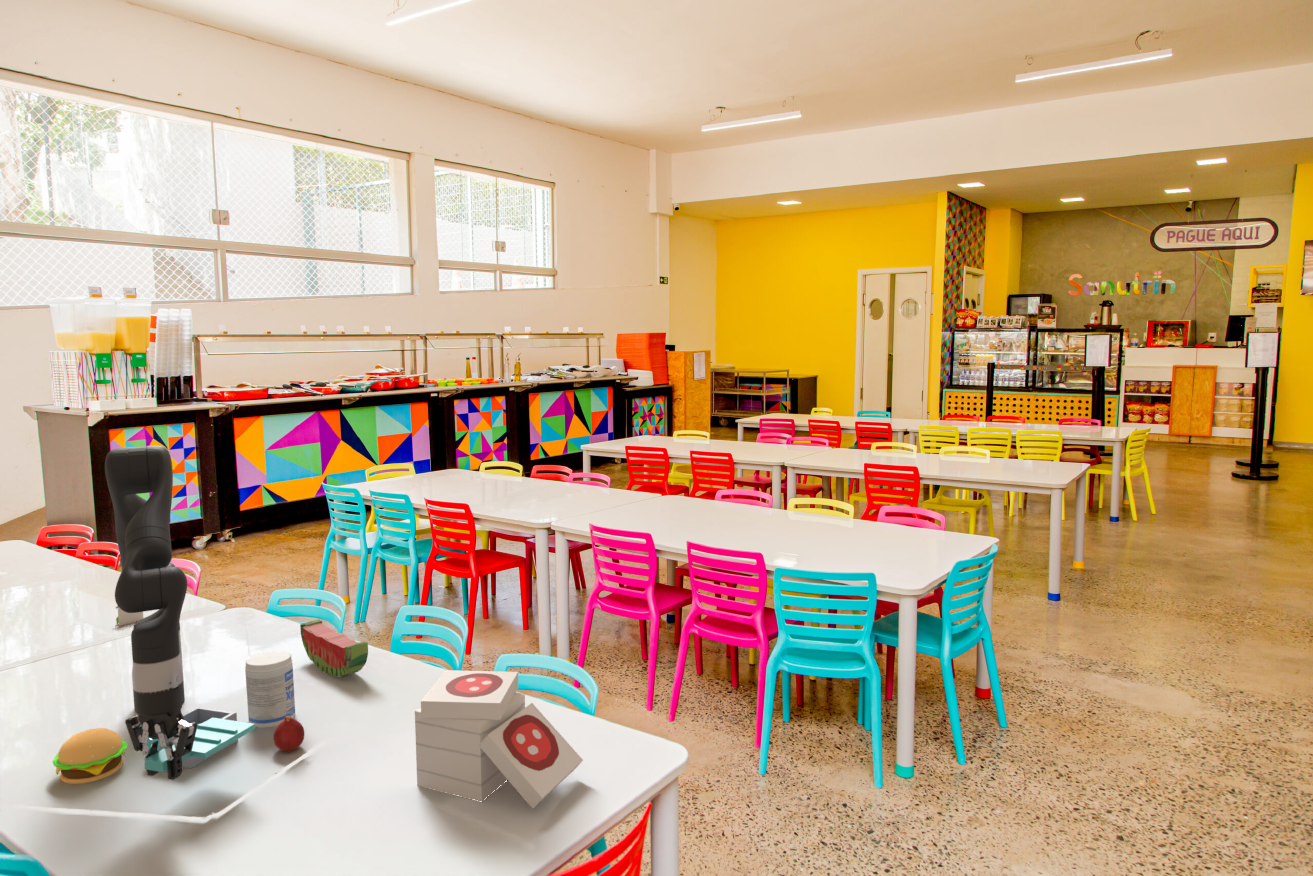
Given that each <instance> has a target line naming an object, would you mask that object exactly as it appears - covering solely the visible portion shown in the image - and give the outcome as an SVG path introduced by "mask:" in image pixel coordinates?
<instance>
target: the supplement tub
mask: <svg viewBox="0 0 1313 876" xmlns="http://www.w3.org/2000/svg"><path fill="white" fill-rule="evenodd" d="M244 667H245V668H244V669H245V685H246V700H247V701H246V702H247V715H248V716H247V717H248V723H252V724H255V728H263V729H264V728H273V727H277V726H278V725H279V724H280V723H281V722H282V721H284V720H285V719H284V718H285V717H286V716H290V717H291V718H293V719H295V718H294V717H295V716H296V704H295V703H296V701H295V685H294V684H295V683H294V682H295V681H294V666H293V659H292V654H291V652H289V651H286V650H269V651H263V652H260V653H257V654H256V653H255V654H253V655H251V656H250V657H248V658H247V659H245V666H244Z"/></svg>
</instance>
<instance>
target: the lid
mask: <svg viewBox="0 0 1313 876" xmlns="http://www.w3.org/2000/svg"><path fill="white" fill-rule="evenodd" d="M255 729H256V727H255V724H252V723H249V722H244V721H238V720H237V721H233V720H226V719H219V718H211V719H209V720H207V721H205V722H203V723H202V724H198V725H197V730H196V734H195V739H194V743H193V747H192V751H191V752H189V753H187V754H186V755H184V756H182V761H184V760H186V759H187V758H189V757H191V756H194V757H200V758H207V757H208V756H210V755H212V754H213V753H215V752H217V751H218V750H220V749H222V748H223V747H225V746H227V745H229V744H230V743H232V742H234V741H235V740H237V739H238V740H239V739H240V738H242V737H244V736H245V735H248V734H249V733H250V732H252V731H254V730H255ZM160 747H161V746H160ZM172 748H173V751H175V750H176V749H175V745H173V746H172ZM167 760H168V759H167V755H166V752H165V749H164V748H162V747H161V751H159V752H157V753H155V754H153V755H151V756H149V757H148V758H146V759H145V758H144V769H145V770H146V769H147V770H153V771H158V772H159V773H165V772H166V771H167V770H168V767H167ZM147 770H146V771H147Z"/></svg>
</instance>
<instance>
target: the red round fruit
mask: <svg viewBox="0 0 1313 876" xmlns="http://www.w3.org/2000/svg"><path fill="white" fill-rule="evenodd" d="M284 719H285V720H284V721H282V722H281V723H280V724H279V725H278V726H276V728H275V730H274V732H273V743H274V745H275V746H276V748H277V749H279V750H281V751H283V752H285V753H289V752H290V753H291V752H294V751H295V750H297V749H298V748H300V747H301V744H303V741H304V739H305V727H303V724H302V723H301V722H299V721H298V720H297V719H296V718H291V717H290V716H286V717H285V718H284Z"/></svg>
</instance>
